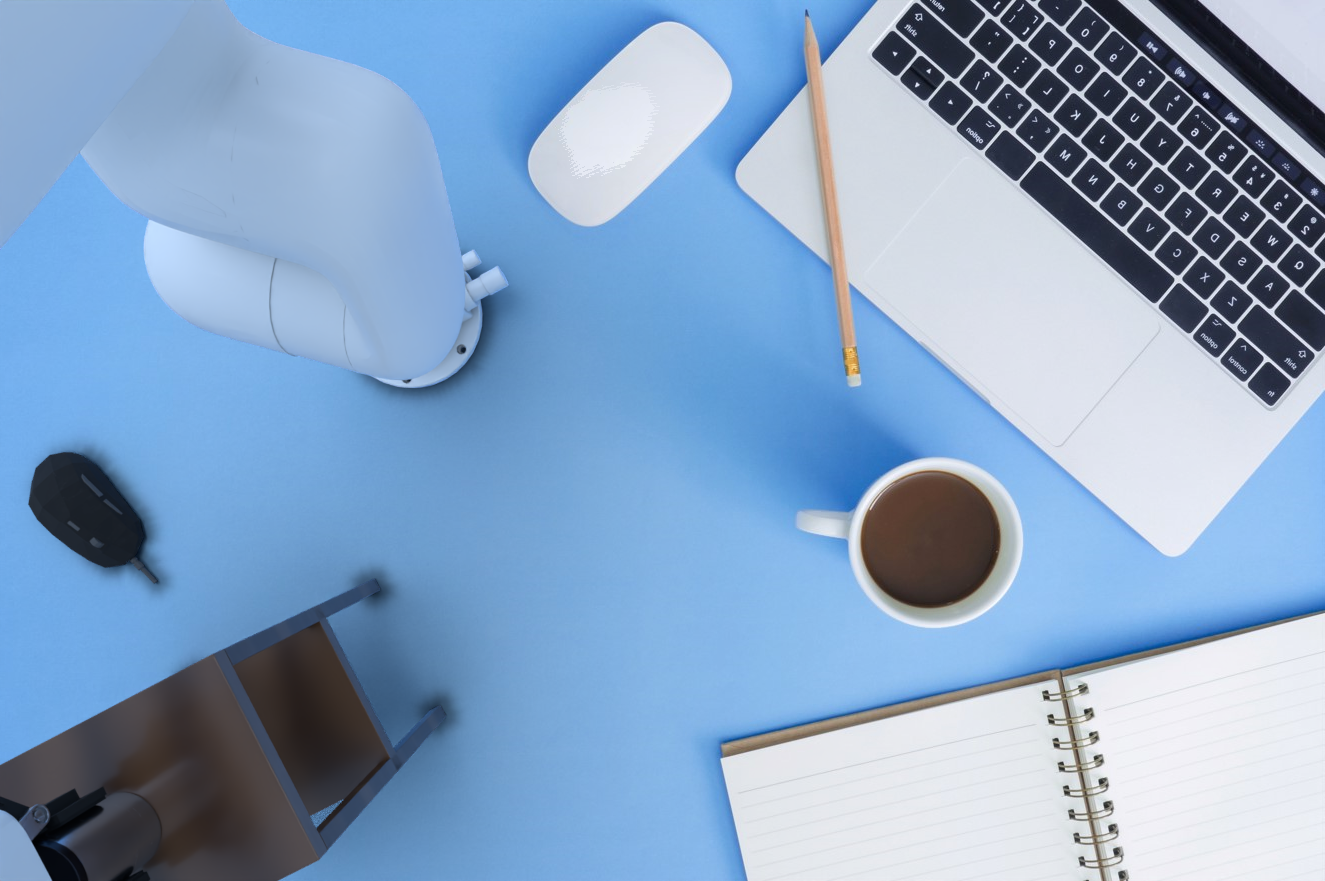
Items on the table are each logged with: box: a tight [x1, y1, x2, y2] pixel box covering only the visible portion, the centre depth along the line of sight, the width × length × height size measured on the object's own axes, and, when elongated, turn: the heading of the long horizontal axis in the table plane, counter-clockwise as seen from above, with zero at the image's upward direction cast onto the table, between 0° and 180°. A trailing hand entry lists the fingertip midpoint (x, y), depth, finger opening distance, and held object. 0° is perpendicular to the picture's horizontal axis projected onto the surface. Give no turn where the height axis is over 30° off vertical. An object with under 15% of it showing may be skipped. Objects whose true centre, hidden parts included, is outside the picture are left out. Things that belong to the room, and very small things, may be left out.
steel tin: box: [31, 792, 161, 881], centre depth 50 cm, size 5×5×7 cm
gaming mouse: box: [27, 451, 158, 585], centre depth 78 cm, size 6×15×4 cm, turn 42°
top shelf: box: [0, 648, 328, 881], centre depth 53 cm, size 20×14×3 cm
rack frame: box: [223, 578, 447, 851], centre depth 67 cm, size 20×14×25 cm
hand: (104, 844), depth 52 cm, fingers closed on steel tin, 4 cm apart
